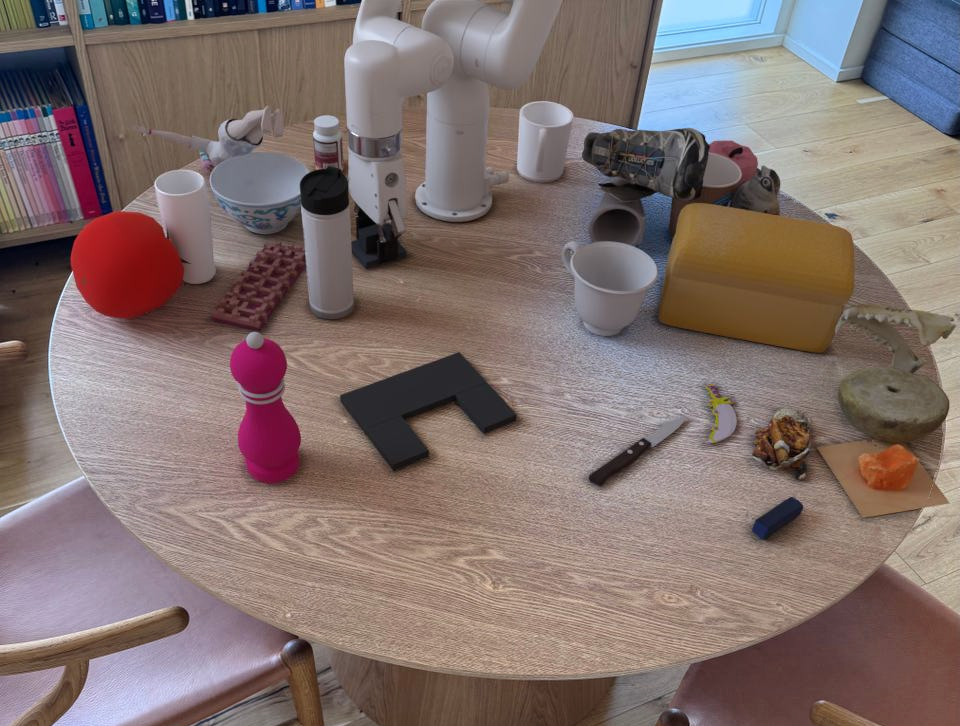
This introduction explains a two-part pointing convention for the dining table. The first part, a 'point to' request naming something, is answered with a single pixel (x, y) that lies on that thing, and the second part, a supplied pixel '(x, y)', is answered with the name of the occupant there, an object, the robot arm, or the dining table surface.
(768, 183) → the figurine
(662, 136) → the running shoe
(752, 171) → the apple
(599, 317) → the teacup
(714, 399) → the decorative knife
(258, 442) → the pepper mill
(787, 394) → the dining table surface
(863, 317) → the jawbone
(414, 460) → the black u-shaped block
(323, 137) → the pill bottle
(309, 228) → the travel mug
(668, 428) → the kitchen knife
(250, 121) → the figurine
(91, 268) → the tomato
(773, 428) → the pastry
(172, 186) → the drinking glass
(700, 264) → the bread
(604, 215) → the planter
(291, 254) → the chocolate bar
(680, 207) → the coffee cup
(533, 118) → the mug
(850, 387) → the weight
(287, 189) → the chinaware
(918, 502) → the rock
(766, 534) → the eraser
